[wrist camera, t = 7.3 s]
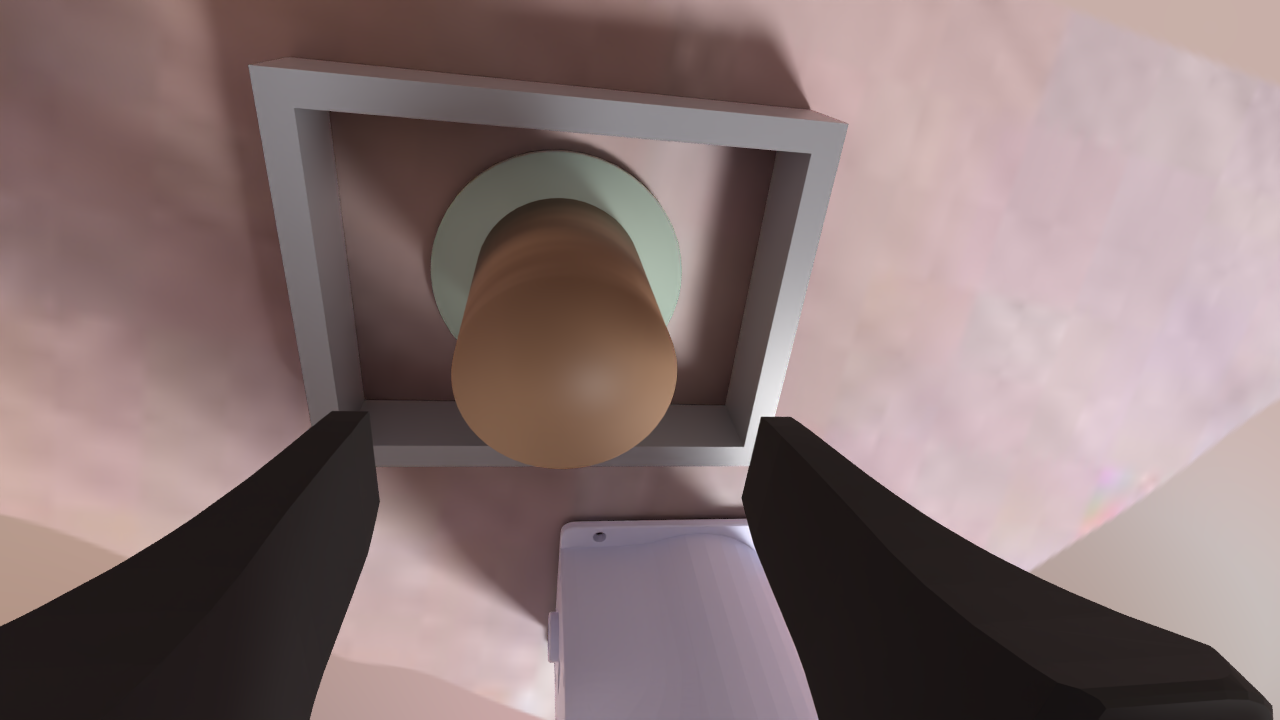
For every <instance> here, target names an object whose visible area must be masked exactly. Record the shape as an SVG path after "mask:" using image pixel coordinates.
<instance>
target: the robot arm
mask: <svg viewBox="0 0 1280 720" xmlns="http://www.w3.org/2000/svg"><path fill="white" fill-rule="evenodd" d="M742 502H743V506H744V510H745V514H746V518H747V519H699V520H639V521H579V522H569V523H567V524H565V525H564V526H563V527H562V529H561V533H560V549H559V565H558V581H557V598H556V612H550V613H549V619H548V661H549V662H550V663H553V662H554V668H555V720H1273V709H1272V705H1271V704H1270V703H1269V702H1268V701H1267V700H1266V698H1265V697H1264V696H1263V695H1262V694H1261V693H1260V692H1259V691H1258V690H1257V689H1256V688H1255V687H1253V686H1252V685H1251V684H1250V683H1249V682H1248V681H1247V680H1246V679H1245V678H1244V677H1243V676H1242V675H1241V674H1240V673H1239V672H1238V671H1237V670H1236V669H1235V668H1234V667H1233V666H1232V665H1230V663H1229V662H1228V661H1227V660H1226V659H1224V658H1223V657H1222V656H1221V655H1220V654H1219V653H1218V652H1217V651H1216V650H1215V649H1213V648H1212V647H1211V646H1209V645H1206V644H1203V643H1201V642H1198V641H1195V640H1192V639H1190V638H1187V637H1184V636H1181V635H1178V634H1176V633H1173V632H1170V631H1168V630H1165V629H1162V628H1159V627H1157V626H1153V625H1151V624H1148V623H1145V622H1143V621H1140V620H1137V619H1135V618H1132V617H1129V616H1126V615H1124V614H1121V613H1119V612H1116V611H1114V610H1112V609H1109V608H1107V607H1104V606H1102V605H1100V604H1097V603H1095V602H1092V601H1090V600H1088V599H1085V598H1083V597H1081V596H1078V595H1076V594H1074V593H1071V592H1069V591H1067V590H1065V589H1062V588H1060V587H1058V586H1056V585H1054V584H1051V583H1049V582H1047V581H1045V580H1043V579H1041V578H1039V577H1037V576H1035V575H1033V574H1031V573H1029V572H1027V571H1025V570H1023V569H1021V568H1019V567H1017V566H1015V565H1013V564H1011V563H1009V562H1007V561H1005V560H1003V559H1001V558H999V557H997V556H995V555H993V554H991V553H989V552H987V551H986V550H984V549H982V548H980V547H978V546H976V545H975V544H973V543H971V542H970V541H968V540H966V539H964V538H963V537H961V536H959V535H958V534H956V533H954V532H952V531H951V530H949V529H947V528H946V527H944V526H942V525H941V524H939V523H937V522H936V521H934V520H933V519H931V518H929V517H928V516H926V515H925V514H923V513H922V512H920V511H919V510H917V509H916V508H914V507H913V506H911V505H910V504H908V503H907V502H905V501H904V500H902V499H901V498H900V497H898V496H897V495H895V494H894V493H892V492H891V491H889V490H888V489H887V488H885V487H884V486H882V485H881V484H880V483H878V482H877V481H876V480H874V479H873V478H872V477H870V476H869V475H867V474H866V473H865V472H863V471H862V470H861V469H860V468H858V467H857V466H856V465H854V464H853V463H852V462H850V461H849V460H848V459H846V458H845V457H844V456H843V455H841V454H840V453H839V452H837V451H836V450H835V449H833V448H832V447H831V446H830V445H828V444H827V443H826V442H824V441H823V440H822V439H821V438H819V437H818V436H817V435H815V434H814V433H813V432H811V431H810V430H809V429H807V428H806V427H805V426H803V425H802V424H801V423H799V422H798V421H796V420H795V419H793V418H792V417H761V419H760V423H759V427H758V431H757V435H756V440H755V444H754V448H753V452H752V457H751V461H750V465H749V469H748V473H747V478H746V482H745V486H744V490H743V494H742ZM379 503H380V500H379V491H378V483H377V474H376V466H375V458H374V449H373V441H372V432H371V424H370V416H369V411H331V412H330V413H329V414H327V415H326V416H325V417H323V418H322V419H321V420H320V421H318V422H317V423H316V424H315V425H314V426H312V427H311V428H310V429H309V430H307V431H306V432H305V433H304V434H303V435H301V436H300V437H299V438H298V439H297V440H295V441H294V442H293V443H292V444H291V445H289V446H288V447H287V448H286V449H284V450H283V451H282V452H281V453H279V454H278V455H277V456H276V457H274V458H273V459H272V460H271V461H269V462H268V463H267V464H266V465H264V466H263V467H262V468H261V469H259V470H258V471H257V472H255V473H254V474H253V475H252V476H250V477H249V478H248V479H247V480H245V481H244V482H242V483H241V484H240V485H238V486H237V487H235V488H234V489H233V490H231V491H230V492H229V493H227V494H226V495H224V496H223V497H222V498H220V499H219V500H217V501H216V502H215V503H213V504H212V505H211V506H209V507H208V508H206V509H205V510H204V511H202V512H201V513H199V514H198V515H197V516H195V517H194V518H192V519H191V520H189V521H188V522H186V523H185V524H183V525H182V526H180V527H179V528H177V529H176V530H174V531H173V532H171V533H170V534H168V535H166V536H165V537H163V538H162V539H160V540H159V541H157V542H155V543H154V544H152V545H150V546H149V547H147V548H145V549H144V550H142V551H140V552H139V553H137V554H135V555H134V556H132V557H131V558H129V559H127V560H126V561H124V562H122V563H120V564H119V565H117V566H115V567H113V568H112V569H110V570H108V571H106V572H105V573H103V574H101V575H99V576H97V577H95V578H93V579H91V580H89V581H88V582H86V583H84V584H82V585H80V586H78V587H77V588H75V589H73V590H71V591H69V592H67V593H65V594H63V595H61V596H60V597H58V598H56V599H54V600H52V601H50V602H49V603H47V604H45V605H43V606H41V607H39V608H37V609H35V610H33V611H31V612H29V613H27V614H25V615H23V616H21V617H19V618H17V619H15V620H13V621H11V622H9V623H7V624H4V625H2V626H0V720H310V716H311V712H312V708H313V704H314V701H315V698H316V694H317V691H318V688H319V685H320V682H321V679H322V676H323V673H324V670H325V668H326V665H327V662H328V660H329V657H330V654H331V652H332V649H333V646H334V644H335V641H336V638H337V636H338V633H339V630H340V628H341V625H342V622H343V620H344V617H345V614H346V612H347V609H348V606H349V604H350V601H351V598H352V596H353V593H354V590H355V588H356V585H357V582H358V579H359V577H360V574H361V571H362V569H363V566H364V563H365V560H366V557H367V555H368V551H369V547H370V543H371V539H372V535H373V530H374V526H375V521H376V517H377V512H378V507H379ZM598 532H603V534H600V535H597V534H596V533H598Z"/></svg>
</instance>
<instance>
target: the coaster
mask: <svg viewBox="0 0 1280 720" xmlns="http://www.w3.org/2000/svg"><path fill="white" fill-rule="evenodd" d="M549 198H566V199H574V200H578V201H582V202H586V203H588V204H591V205H593V206H596V207H598V208H599V209H601V210H603V211H605V212H606V213H608V214H609V215H610V216H612V217H613V218H614V219H615V220H616V221H617V222H618V223H619V224H620V225H621V226H622V227H623V228H624V229H625V231H626V232H627V233H628V235H629V236H630V238H631V240H632V241H633V243H634V246H635V248H636V250H637V253H638V255H639V258H640V260H641V263H642V266H643V268H644V271H645V273H646V276H647V278H648V281H649V284H650V286H651V289H652V291H653V294H654V296H655V299H656V302H657V304H658V307H659V309H660V312H661V314H662V317H663V319H664V322H665V325H666V327H667V325H668V323H669V321H670V319H671V317H672V315H673V312H674V309H675V307H676V304H677V301H678V297H679V292H680V287H681V276H682V267H681V255H680V250H679V245H678V241H677V238H676V235H675V232H674V229H673V227H672V225H671V223H670V221H669V219H668V217H667V215H666V213H665V211H664V210H663V208H662V207H661V205H660V204H659V203H658V201H657V200H656V198H655V197H654V196H653V195H652V194H651V192H650V191H649V190H648V189H647V188H646V187H645V186H644V185H643V184H642V183H641V182H639V181H638V180H637V179H636V178H635V177H633V176H632V175H631V174H630V173H628V172H626V171H625V170H623V169H621V168H620V167H618V166H617V165H615V164H613V163H610V162H608V161H606V160H603V159H601V158H599V157H595V156H592V155H588V154H585V153H580V152H573V151H567V150H544V151H535V152H529V153H525V154H521V155H517V156H513V157H511V158H508V159H506V160H504V161H501V162H499V163H497V164H495V165H493V166H491V167H490V168H488V169H486V170H485V171H483V172H481V173H480V174H479V175H478V176H476V177H475V178H474V179H473V180H471V181H470V182H469V183H468V184H467V185H466V186H465V187H464V188H463V189H462V190H461V191H460V193H459V194H458V195H457V196H456V197H455V199H454V200H453V202H452V203H451V205H450V206H449V208H448V209H447V211H446V213H445V215H444V217H443V219H442V221H441V223H440V225H439V227H438V231H437V234H436V237H435V240H434V243H433V249H432V255H431V281H432V289H433V293H434V297H435V300H436V304H437V307H438V309H439V311H440V314H441V316H442V318H443V320H444V322H445V324H446V325H447V327H448V329H449V330H450V332H451V333H452V335H453V336H454V337H455V338H456V340H457V339H458V335H459V331H460V327H461V323H462V319H463V315H464V311H465V307H466V303H467V299H468V295H469V291H470V287H471V283H472V279H473V275H474V271H475V267H476V264H477V260H478V256H479V253H480V250H481V247H482V245H483V243H484V241H485V239H486V237H487V235H488V234H489V233H490V231H491V230H492V228H493V227H494V226H495V225H496V224H497V223H498V222H499V221H500V220H501V219H502V218H503V217H505V216H506V215H507V214H508V213H510V212H511V211H513V210H515V209H516V208H518V207H520V206H523V205H525V204H527V203H530V202H534V201H537V200H542V199H549Z"/></svg>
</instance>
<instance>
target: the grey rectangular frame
mask: <svg viewBox="0 0 1280 720" xmlns="http://www.w3.org/2000/svg"><path fill="white" fill-rule="evenodd" d="M248 67H249V72H250V78H251V84H252V90H253V95H254V101H255V107H256V112H257V118H258V124H259V129H260V135H261V141H262V147H263V152H264V158H265V164H266V169H267V175H268V181H269V186H270V192H271V198H272V204H273V209H274V215H275V221H276V226H277V232H278V238H279V243H280V249H281V255H282V261H283V266H284V272H285V278H286V283H287V289H288V295H289V300H290V306H291V312H292V318H293V323H294V329H295V335H296V340H297V346H298V352H299V357H300V363H301V369H302V375H303V380H304V386H305V392H306V397H307V403H308V409H309V414H310V420H311V426H314V425H315V424H316V423H317V422H318V421H320V420H321V419H322V418H323V417H325V416H326V415H327V414H329V413H330V412H331V411H369V416H370V424H371V432H372V441H373V449H374V458H375V466H376V467H536V466H532V465H528V464H524V463H521V462H519V461H516V460H513V459H511V458H509V457H507V456H505V455H503V454H501V453H499V452H497V451H496V450H494V449H493V448H491V447H490V446H488V445H487V444H486V443H485V442H484V441H482V440H481V439H480V438H479V437H478V436H477V435H476V434H475V433H474V432H473V431H472V429H471V428H470V427H469V426H468V424H467V423H466V421H465V420H464V418H463V417H462V415H461V413H460V411H459V409H458V407H457V404H456V401H410V400H365V399H364V391H363V383H362V375H361V367H360V359H359V351H358V343H357V334H356V326H355V318H354V310H353V302H352V294H351V286H350V278H349V269H348V261H347V253H346V245H345V237H344V229H343V221H342V213H341V205H340V196H339V188H338V180H337V172H336V164H335V156H334V148H333V140H332V132H331V123H330V115H329V111H336V112H347V113H359V114H370V115H381V116H392V117H404V118H415V119H426V120H438V121H449V122H460V123H471V124H483V125H494V126H505V127H517V128H528V129H539V130H550V131H562V132H573V133H584V134H596V135H607V136H618V137H629V138H641V139H652V140H663V141H675V142H686V143H697V144H708V145H720V146H731V147H742V148H754V149H765V150H776V151H777V153H776V157H775V162H774V167H773V172H772V177H771V182H770V187H769V192H768V197H767V202H766V207H765V211H764V216H763V221H762V226H761V231H760V236H759V241H758V246H757V251H756V256H755V261H754V265H753V270H752V275H751V280H750V285H749V290H748V295H747V300H746V305H745V310H744V315H743V319H742V324H741V329H740V334H739V339H738V344H737V349H736V354H735V359H734V364H733V369H732V373H731V378H730V383H729V388H728V393H727V398H726V403H725V405H669V407H668V409H667V411H666V413H665V415H664V416H663V418H662V419H661V421H660V422H659V424H658V425H657V426H656V427H655V428H654V430H653V431H652V432H651V433H650V434H649V435H648V436H647V437H646V438H645V439H643V440H642V441H641V442H640V443H639V444H637V445H636V446H634V447H633V448H631V449H630V450H629V451H627V452H625V453H623V454H621V455H619V456H617V457H615V458H613V459H610V460H608V461H605V462H602V463H599V464H595V465H592V466H749V465H750V461H751V457H752V452H753V448H754V444H755V440H756V435H757V431H758V427H759V423H760V419H761V417H775V414H776V410H777V406H778V402H779V398H780V394H781V390H782V386H783V382H784V378H785V374H786V370H787V366H788V362H789V358H790V354H791V350H792V346H793V342H794V338H795V334H796V330H797V326H798V322H799V319H800V315H801V311H802V307H803V303H804V299H805V295H806V291H807V287H808V283H809V279H810V275H811V271H812V267H813V263H814V259H815V255H816V251H817V247H818V243H819V239H820V235H821V231H822V227H823V223H824V219H825V215H826V211H827V207H828V203H829V199H830V195H831V191H832V187H833V183H834V179H835V175H836V171H837V167H838V163H839V160H840V156H841V152H842V148H843V144H844V140H845V136H846V132H847V128H848V123H845V122H842V121H840V120H837V119H834V118H832V117H829V116H826V115H824V114H821V113H819V112H816V111H813V110H808V109H798V108H788V107H778V106H768V105H758V104H748V103H738V102H729V101H719V100H709V99H699V98H689V97H679V96H669V95H659V94H649V93H640V92H630V91H620V90H610V89H600V88H590V87H580V86H570V85H561V84H551V83H541V82H531V81H521V80H511V79H501V78H491V77H482V76H472V75H462V74H452V73H442V72H432V71H422V70H412V69H403V68H393V67H383V66H373V65H363V64H353V63H343V62H333V61H324V60H314V59H304V58H294V57H286V58H281V59H276V60H271V61H265V62H260V63H255V64H250V65H248Z"/></svg>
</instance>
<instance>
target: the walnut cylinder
mask: <svg viewBox="0 0 1280 720" xmlns="http://www.w3.org/2000/svg"><path fill="white" fill-rule="evenodd" d="M676 381H677V361H676V354H675V350H674V346H673V343H672V340H671V337H670V335H669V332H668V330H667V327H666V325H665V322H664V319H663V317H662V314H661V312H660V309H659V307H658V304H657V302H656V299H655V296H654V294H653V291H652V289H651V286H650V284H649V281H648V278H647V276H646V273H645V271H644V268H643V266H642V263H641V260H640V258H639V255H638V253H637V250H636V248H635V246H634V243H633V241H632V240H631V238H630V236H629V235H628V233H627V232H626V231H625V229H624V228H623V227H622V226H621V225H620V224H619V223H618V222H617V221H616V220H615V219H614V218H613V217H612V216H610V215H609V214H608V213H606V212H605V211H603V210H601V209H599V208H598V207H596V206H593V205H591V204H588V203H586V202H582V201H578V200H574V199H566V198H549V199H542V200H537V201H534V202H530V203H527V204H525V205H523V206H520V207H518V208H516V209H515V210H513V211H511V212H510V213H508V214H507V215H506V216H505V217H503V218H502V219H501V220H500V221H499V222H498V223H497V224H496V225H495V226H494V227H493V228H492V230H491V231H490V233H489V234H488V235H487V237H486V239H485V241H484V243H483V245H482V247H481V250H480V253H479V256H478V260H477V264H476V267H475V271H474V275H473V279H472V283H471V287H470V291H469V295H468V299H467V303H466V307H465V311H464V315H463V319H462V323H461V327H460V331H459V335H458V339H457V342H456V346H455V350H454V354H453V360H452V366H451V382H452V389H453V394H454V398H455V401H456V404H457V407H458V409H459V411H460V413H461V415H462V417H463V418H464V420H465V421H466V423H467V424H468V426H469V427H470V428H471V429H472V431H473V432H474V433H475V434H476V435H477V436H478V437H479V438H480V439H481V440H482V441H484V442H485V443H486V444H487V445H488V446H490V447H491V448H493V449H494V450H496V451H497V452H499V453H501V454H503V455H505V456H507V457H509V458H511V459H513V460H516V461H519V462H521V463H524V464H528V465H532V466H536V467H543V468H550V469H571V468H581V467H586V466H592V465H595V464H599V463H602V462H605V461H608V460H610V459H613V458H615V457H617V456H619V455H621V454H623V453H625V452H627V451H629V450H630V449H631V448H633V447H634V446H636V445H637V444H639V443H640V442H641V441H642V440H643V439H645V438H646V437H647V436H648V435H649V434H650V433H651V432H652V431H653V430H654V428H655V427H656V426H657V425H658V424H659V422H660V421H661V419H662V418H663V416H664V415H665V413H666V411H667V409H668V407H669V405H670V403H671V400H672V397H673V394H674V391H675V386H676Z"/></svg>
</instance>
